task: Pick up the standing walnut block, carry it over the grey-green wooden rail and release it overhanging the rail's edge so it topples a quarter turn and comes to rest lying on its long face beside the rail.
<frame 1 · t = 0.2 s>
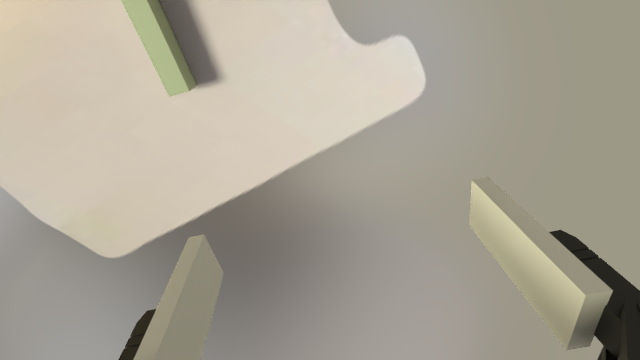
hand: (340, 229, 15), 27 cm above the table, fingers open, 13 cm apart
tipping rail: (148, 5, 33), on the table
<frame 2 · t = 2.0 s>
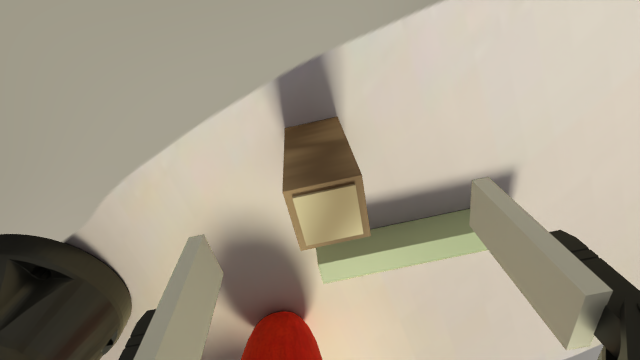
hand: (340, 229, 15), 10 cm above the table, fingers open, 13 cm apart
apple: (282, 322, 35), on the table
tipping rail: (411, 230, 29), on the table
walnut block: (316, 146, 24), on the table
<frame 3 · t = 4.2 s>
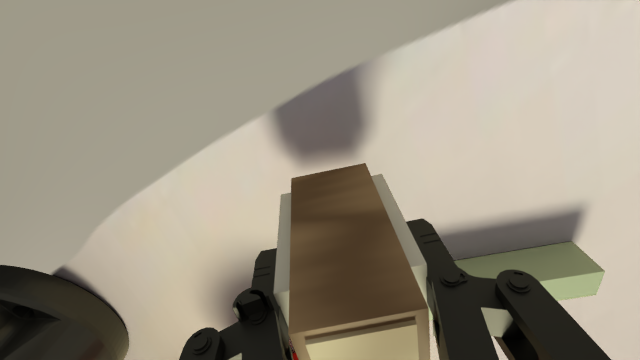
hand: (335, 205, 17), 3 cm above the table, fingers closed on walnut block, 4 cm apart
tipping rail: (451, 272, 25), on the table
walnut block: (334, 201, 17), point 3 cm above the table, touching gripper
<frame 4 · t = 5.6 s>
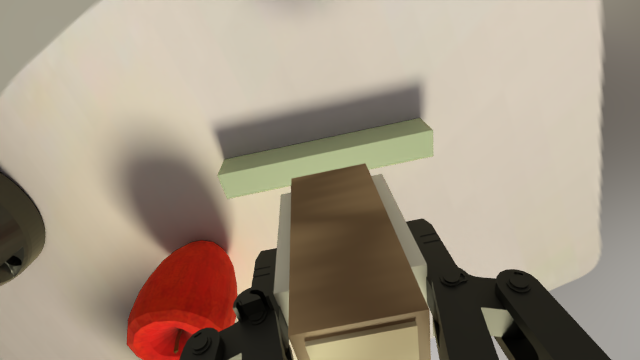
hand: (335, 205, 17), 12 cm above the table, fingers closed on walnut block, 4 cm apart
apple: (205, 255, 34), on the table
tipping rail: (323, 150, 29), on the table
walnut block: (334, 201, 17), point 12 cm above the table, touching gripper
when the fingers open (4 cm above the table, at t = 6.9 s): walnut block drops 2 cm and tips over, point 2 cm above the table.
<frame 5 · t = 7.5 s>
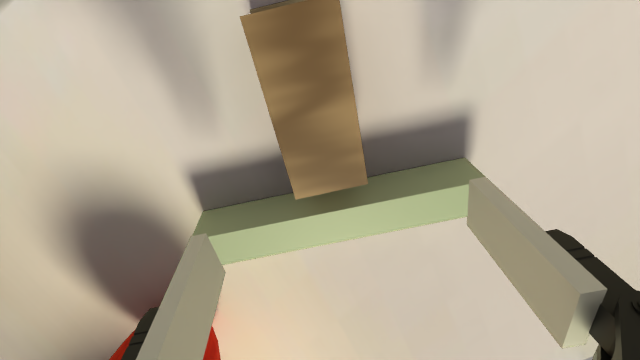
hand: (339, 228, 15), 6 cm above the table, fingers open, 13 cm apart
apple: (184, 320, 27), on the table
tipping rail: (334, 199, 22), on the table
walnut block: (328, 174, 18), point 2 cm above the table, tilted 90°
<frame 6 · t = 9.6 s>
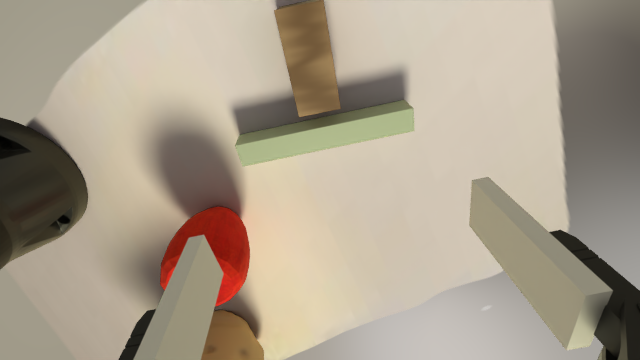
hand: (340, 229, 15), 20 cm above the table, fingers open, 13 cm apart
apple: (221, 220, 39), on the table
container: (227, 333, 51), on the table
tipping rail: (323, 127, 34), on the table
walnut block: (318, 106, 31), point 2 cm above the table, tilted 90°
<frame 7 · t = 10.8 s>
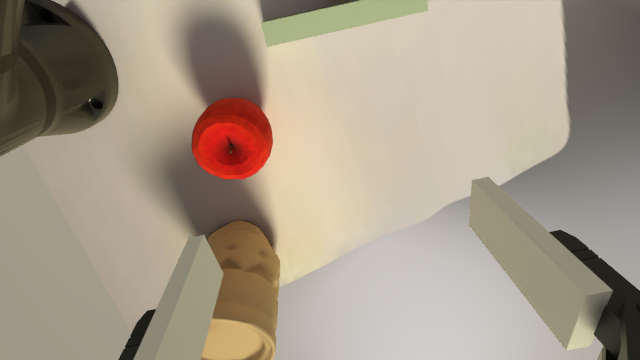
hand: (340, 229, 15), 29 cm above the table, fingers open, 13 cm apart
apple: (243, 118, 42), on the table
container: (244, 248, 53), on the table
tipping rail: (341, 15, 36), on the table
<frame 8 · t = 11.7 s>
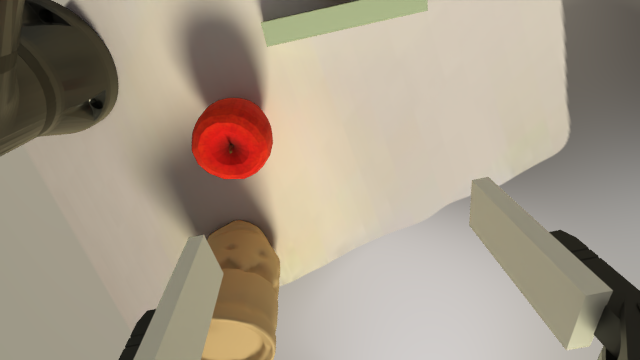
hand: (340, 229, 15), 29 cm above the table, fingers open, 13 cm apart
apple: (243, 118, 42), on the table
container: (244, 248, 53), on the table
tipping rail: (341, 15, 36), on the table
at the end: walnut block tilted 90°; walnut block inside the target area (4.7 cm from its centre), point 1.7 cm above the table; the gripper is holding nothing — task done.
